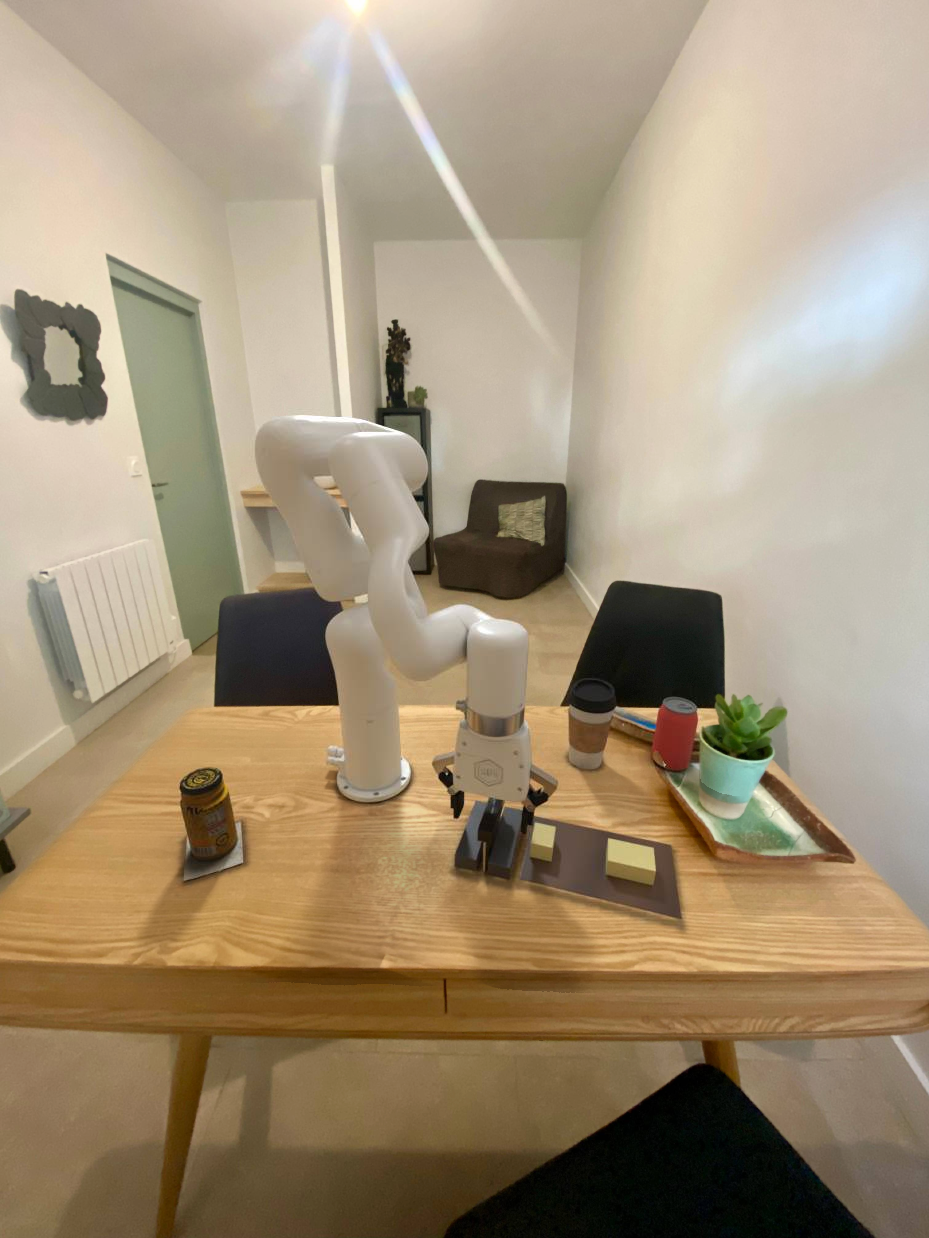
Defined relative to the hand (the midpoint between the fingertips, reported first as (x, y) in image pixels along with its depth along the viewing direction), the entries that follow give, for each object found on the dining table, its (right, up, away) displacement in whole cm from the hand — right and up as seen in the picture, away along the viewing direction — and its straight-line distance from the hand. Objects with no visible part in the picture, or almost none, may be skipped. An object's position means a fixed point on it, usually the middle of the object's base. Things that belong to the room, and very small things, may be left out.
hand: (491, 819), depth 68 cm
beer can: (+34, +2, +21) cm, 40 cm away
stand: (0, -5, +2) cm, 5 cm away
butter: (+19, -6, -3) cm, 20 cm away
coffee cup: (+19, +2, +21) cm, 28 cm away
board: (+15, -6, -1) cm, 16 cm away
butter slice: (+7, -4, 0) cm, 9 cm away
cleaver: (0, -5, +2) cm, 5 cm away
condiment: (-40, -5, +1) cm, 40 cm away
